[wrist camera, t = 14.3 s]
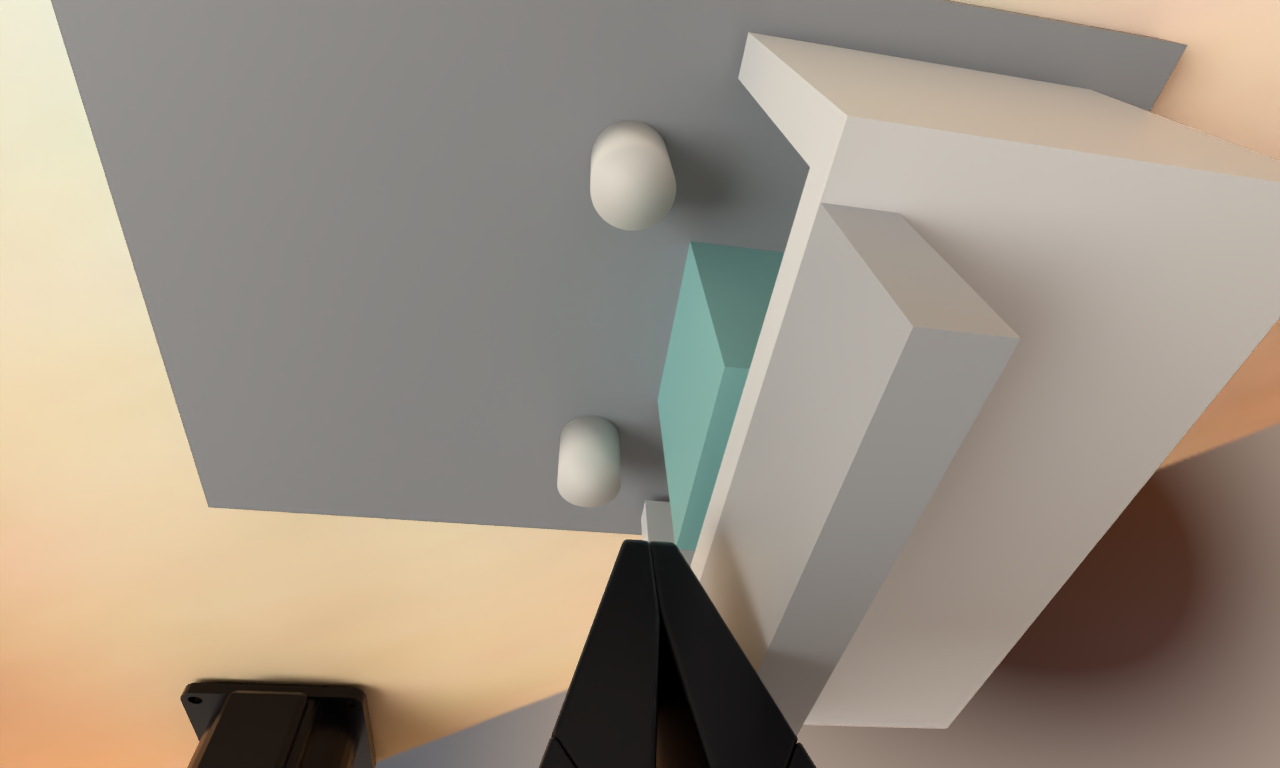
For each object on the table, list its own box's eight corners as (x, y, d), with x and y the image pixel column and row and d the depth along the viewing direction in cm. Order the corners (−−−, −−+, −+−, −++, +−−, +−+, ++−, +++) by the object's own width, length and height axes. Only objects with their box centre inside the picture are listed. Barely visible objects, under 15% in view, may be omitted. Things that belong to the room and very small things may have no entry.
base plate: (891, 532, 22) (922, 598, 20) (221, 487, 20) (176, 557, 17) (1159, 38, 14) (1261, 62, 12) (33, -166, 11) (-101, -182, 9)
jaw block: (872, 419, 18) (950, 565, 14) (657, 400, 18) (675, 549, 13) (938, 271, 16) (1056, 398, 12) (690, 241, 15) (724, 366, 11)
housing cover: (863, 534, 21) (1008, 873, 13) (641, 519, 20) (666, 874, 12) (1090, 89, 13) (1682, 312, 6) (747, 31, 12) (964, 214, 5)
